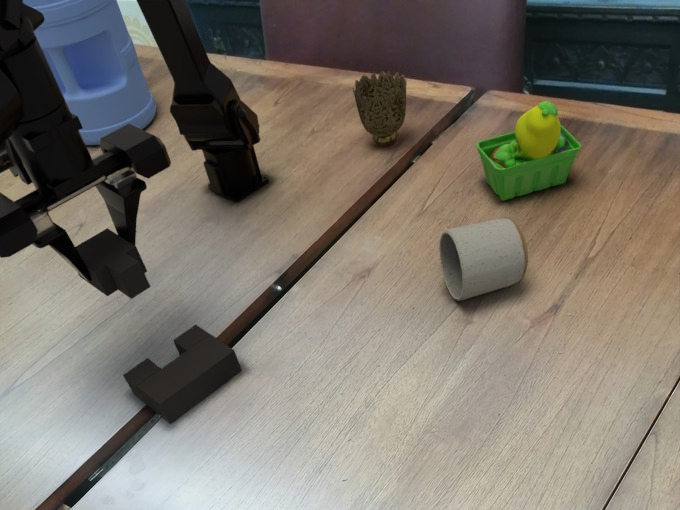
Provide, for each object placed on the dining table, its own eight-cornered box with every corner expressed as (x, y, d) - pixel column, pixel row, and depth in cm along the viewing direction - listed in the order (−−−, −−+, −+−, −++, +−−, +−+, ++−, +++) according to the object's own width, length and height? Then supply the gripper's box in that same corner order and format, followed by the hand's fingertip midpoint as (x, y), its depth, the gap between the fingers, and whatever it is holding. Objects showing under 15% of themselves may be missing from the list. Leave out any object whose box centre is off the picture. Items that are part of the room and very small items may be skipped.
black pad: (119, 253, 74) (107, 227, 72) (161, 280, 70) (150, 254, 68) (79, 277, 72) (66, 251, 70) (120, 306, 69) (107, 280, 66)
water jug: (86, 102, 120) (-6, -108, 97) (170, 97, 117) (96, -120, 94) (49, 149, 111) (-61, -68, 89) (139, 146, 109) (49, -80, 86)
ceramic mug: (530, 293, 78) (534, 231, 72) (463, 314, 77) (461, 254, 71) (492, 244, 84) (492, 184, 78) (429, 264, 84) (425, 204, 77)
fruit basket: (552, 157, 94) (560, 66, 84) (583, 189, 89) (596, 96, 79) (474, 180, 93) (473, 90, 83) (501, 214, 88) (504, 123, 78)
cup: (405, 155, 98) (400, 95, 92) (355, 155, 100) (347, 96, 93) (415, 128, 102) (410, 69, 96) (366, 128, 104) (359, 70, 97)
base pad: (204, 344, 80) (195, 323, 77) (242, 370, 76) (234, 349, 74) (133, 394, 76) (122, 374, 74) (170, 424, 73) (159, 404, 70)
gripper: (76, 44, 66) (141, 199, 78) (-110, 130, 59) (-6, 284, 72) (140, 71, 60) (199, 232, 73) (-55, 167, 54) (46, 326, 66)
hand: (110, 266), depth 71 cm, fingers closed on black pad, 5 cm apart
